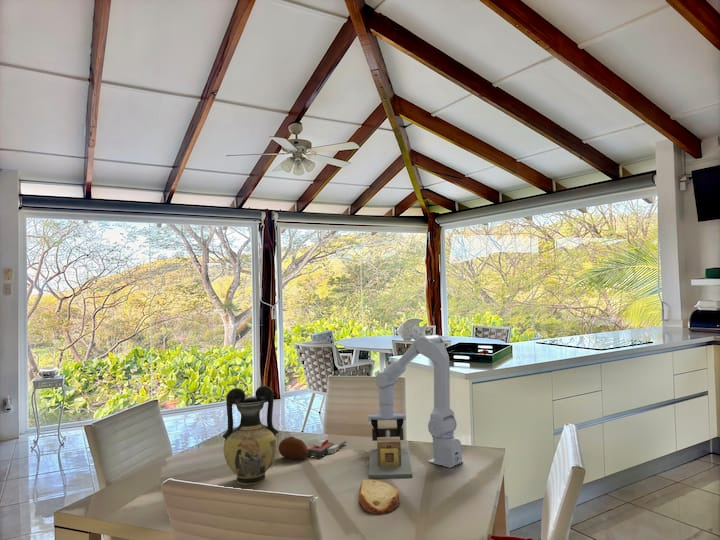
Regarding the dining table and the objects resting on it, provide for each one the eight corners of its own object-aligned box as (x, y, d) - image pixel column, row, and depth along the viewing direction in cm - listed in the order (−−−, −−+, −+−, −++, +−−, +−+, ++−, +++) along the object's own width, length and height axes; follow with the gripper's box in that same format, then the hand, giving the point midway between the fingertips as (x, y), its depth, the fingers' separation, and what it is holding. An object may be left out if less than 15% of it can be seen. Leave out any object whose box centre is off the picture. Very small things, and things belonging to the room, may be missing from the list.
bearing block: (377, 459, 168) (377, 437, 169) (400, 459, 168) (399, 436, 169) (377, 465, 162) (377, 442, 163) (401, 465, 162) (400, 441, 163)
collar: (380, 465, 162) (380, 447, 163) (398, 465, 162) (397, 447, 162) (380, 467, 161) (380, 448, 161) (398, 466, 161) (397, 448, 161)
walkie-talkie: (324, 460, 174) (348, 445, 192) (323, 448, 174) (347, 434, 192) (303, 458, 177) (329, 443, 196) (303, 446, 178) (328, 432, 196)
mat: (369, 453, 179) (369, 450, 179) (407, 452, 179) (407, 449, 179) (368, 478, 153) (368, 475, 154) (412, 477, 153) (412, 474, 153)
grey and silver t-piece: (372, 439, 187) (372, 428, 187) (403, 439, 187) (402, 427, 187) (371, 456, 166) (371, 443, 166) (406, 456, 165) (406, 442, 165)
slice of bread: (369, 483, 150) (368, 471, 150) (418, 496, 139) (418, 483, 139) (331, 503, 136) (330, 489, 136) (382, 519, 125) (382, 504, 125)
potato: (304, 462, 171) (303, 440, 172) (274, 461, 174) (273, 439, 174) (311, 456, 179) (310, 434, 179) (282, 455, 181) (281, 433, 182)
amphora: (226, 493, 144) (225, 393, 147) (220, 476, 160) (219, 385, 162) (283, 484, 151) (281, 387, 153) (272, 468, 166) (271, 380, 169)
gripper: (404, 400, 188) (406, 436, 187) (367, 401, 189) (369, 437, 188) (405, 404, 181) (407, 441, 180) (367, 405, 182) (368, 442, 181)
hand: (387, 439), depth 183 cm, fingers open, 7 cm apart
